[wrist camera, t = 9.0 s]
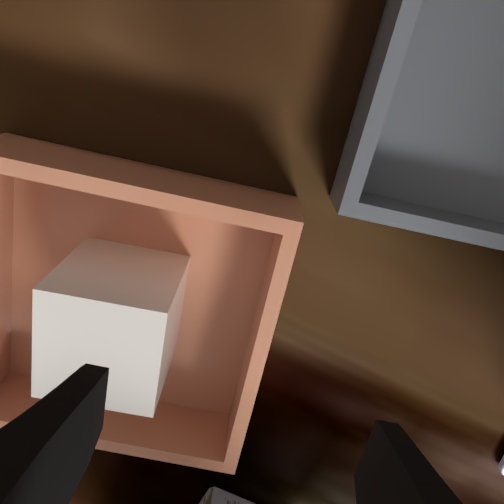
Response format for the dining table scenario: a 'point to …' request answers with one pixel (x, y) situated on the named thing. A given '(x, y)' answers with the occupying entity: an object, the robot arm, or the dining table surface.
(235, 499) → the coffee box
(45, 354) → the white cube
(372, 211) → the tray
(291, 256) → the bin
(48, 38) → the dining table surface
